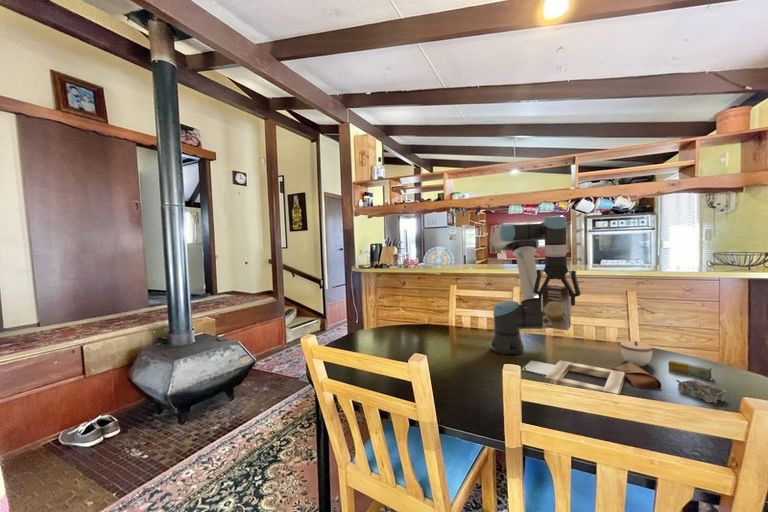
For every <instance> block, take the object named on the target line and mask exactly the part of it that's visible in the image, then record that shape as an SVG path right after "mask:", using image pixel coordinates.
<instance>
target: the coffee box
mask: <svg viewBox="0 0 768 512" xmlns="http://www.w3.org/2000/svg"><path fill="white" fill-rule="evenodd" d="M569 297H570V294H569V289H567V288H566V287H565V286H561V285H547V286H546V287H543V327H547V329H554V330H562V331H568V330H569V329H570V328H571V324H572V323H571V316H572V314H569Z"/></svg>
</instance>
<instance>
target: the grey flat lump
mask: <svg viewBox="0 0 768 512" xmlns="http://www.w3.org/2000/svg"><path fill="white" fill-rule="evenodd" d="M675 382H677V391H679V393H681V394H687V393H688V394H687V395H690V394H691V395H690V396H691V397H692V396H694V397H693V398H695V397H701V398H704V399H703V401H704V400H707V401H712V402H717V403H718V401H717V400H721V401H720V402H725V393H726V392H727V389H722V388H718V387H715V386H713V385H710V384H707V383H703V382H701V381H699V380H696V379H691V380H690V379H689V380H685V381H684V380H683V381H680V380H678V379H675ZM693 388H694V389H693ZM696 390H697V391H696ZM701 398H700V399H701Z"/></svg>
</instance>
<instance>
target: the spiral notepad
mask: <svg viewBox="0 0 768 512" xmlns="http://www.w3.org/2000/svg"><path fill="white" fill-rule="evenodd" d="M555 365H556V364H552V363H545V362H542V361H538V360H537V361H535V360H530V361H529V362H528V363H527V364H526V365H525V366H524V367H525V368H526V370H527V371H530V372H534V373H533V374H535V373H537V374H536V375H539V374H542V375H541V376H544V375H547V374H548V373H549V372H550V371H551V370H552V369H553V367H554V366H555ZM524 367H522V368H523V369H522V368H521V371H522V370H524ZM530 372H529V373H530Z"/></svg>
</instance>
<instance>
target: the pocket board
mask: <svg viewBox="0 0 768 512" xmlns="http://www.w3.org/2000/svg"><path fill="white" fill-rule="evenodd" d="M554 365H555V366H554V367H553V369H552V370H551V371H550V372H549V373H548V374H547V375H546V376H544V383H545V382H547V383H553V384H560V385H564V386H571V387H577V388H583V389H589V390H595V391H601V392H608V393H613V394H620V395H621V392H622V389H623V386H624V383H625V380H626V379H625V372H620V371H615V370H612V369H609V368H603V367H598V366H593V365H586V364H582V363H577V362H570V361H566V360H559V361H557V362H556V364H554ZM568 372H574V373H578V374H579V373H580V374H584V375H589V376H595V377H598V378H605V379H607V380H606V382H605V385H604V386H602V385H601V386H600V385H596V384H592V383H587V382H584V381H583V382H582V381H578V380H573V379H569V378H564V377H566V375H567V373H568Z"/></svg>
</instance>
